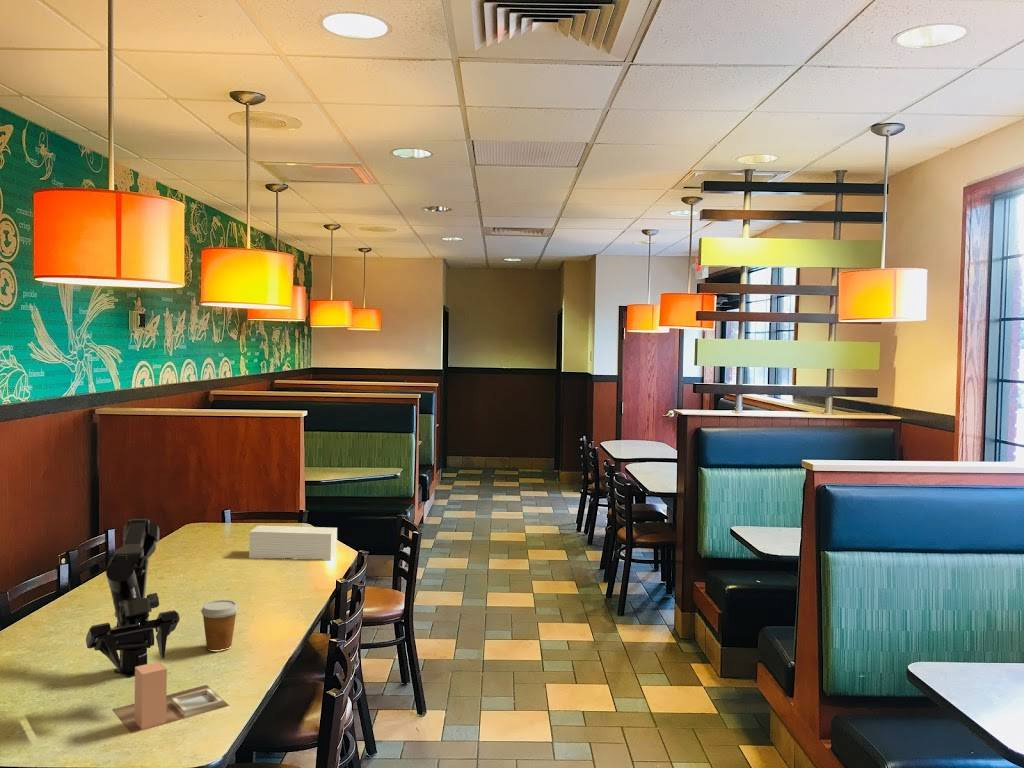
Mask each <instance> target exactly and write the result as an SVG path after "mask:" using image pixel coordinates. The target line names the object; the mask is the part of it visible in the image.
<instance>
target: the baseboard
mask: <svg viewBox="0 0 1024 768" xmlns="http://www.w3.org/2000/svg"><path fill="white" fill-rule="evenodd" d="M226 707H230V704H229V703H227V702H226V701H225V700H224V699H223V698H222V697H221V696H219V694H217V693H216V692H215V691H214V690H213V689H212V688H211V687H210V686H208V685H207V684H205V685H201V686H197V687H194V688H193V687H192V688H189V689H186V690H185V689H184V690H182V691H179V692H174V693H170V694H166V723H164V724H161V725H157V726H154V727H150V728H147V729H143V730H141V728H140V727H139V726H138V725H137V724H136V722H135V721H134V718H135V703H132V704H127V705H124V706H121V707H117V708H113V709H112V711H113V712H114V714H115V715H116V716H117V717H118V720H119V719H120V721H121V722H122V724H123V725H124V726H125V728H127V730H128V731H129V732H130V733H131V734H135V733H138V732H142V731H145V730H149V729H152V728H156V727H159V726H163V725H166V724H169V723H170V724H171V723H173V722H177V721H181V720H185V719H187V718H188V719H189V718H191V717H195V716H198V715H201V714H205V713H208V712H212V711H216V710H219V709H223V708H226Z"/></svg>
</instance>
